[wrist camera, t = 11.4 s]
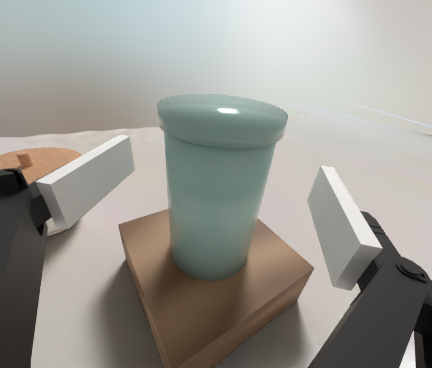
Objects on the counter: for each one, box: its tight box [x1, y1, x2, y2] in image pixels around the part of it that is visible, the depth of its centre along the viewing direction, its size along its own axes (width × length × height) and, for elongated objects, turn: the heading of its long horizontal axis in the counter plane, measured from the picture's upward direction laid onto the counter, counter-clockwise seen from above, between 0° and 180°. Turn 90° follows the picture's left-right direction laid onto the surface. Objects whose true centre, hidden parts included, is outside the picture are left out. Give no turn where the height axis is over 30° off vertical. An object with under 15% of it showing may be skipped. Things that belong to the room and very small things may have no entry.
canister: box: [157, 94, 288, 281], centre depth 16 cm, size 8×8×12 cm
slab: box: [118, 209, 314, 368], centre depth 21 cm, size 13×13×5 cm
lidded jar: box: [0, 148, 82, 236], centre depth 25 cm, size 11×11×9 cm
